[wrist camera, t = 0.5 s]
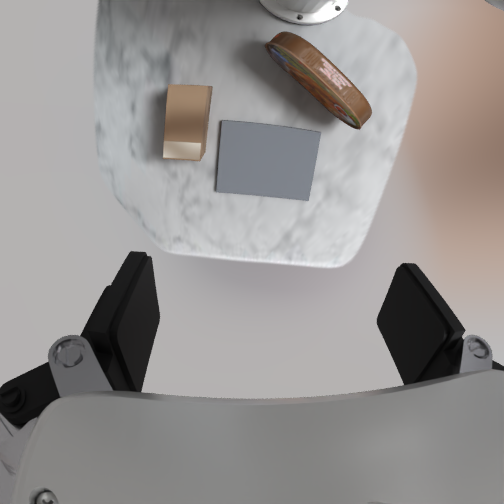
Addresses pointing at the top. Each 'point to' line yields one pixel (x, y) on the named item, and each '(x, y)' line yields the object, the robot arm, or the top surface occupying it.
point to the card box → (186, 122)
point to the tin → (320, 78)
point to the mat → (266, 160)
